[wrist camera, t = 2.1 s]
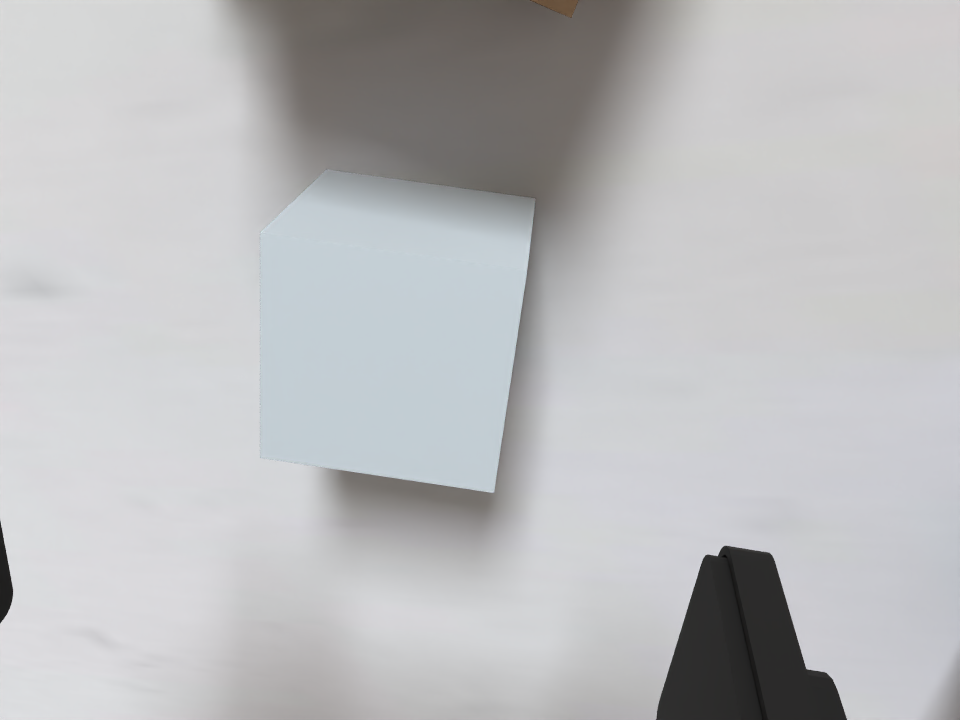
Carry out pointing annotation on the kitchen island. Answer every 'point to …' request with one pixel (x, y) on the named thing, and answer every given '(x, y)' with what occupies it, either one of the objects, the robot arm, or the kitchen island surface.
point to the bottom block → (559, 6)
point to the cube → (391, 327)
